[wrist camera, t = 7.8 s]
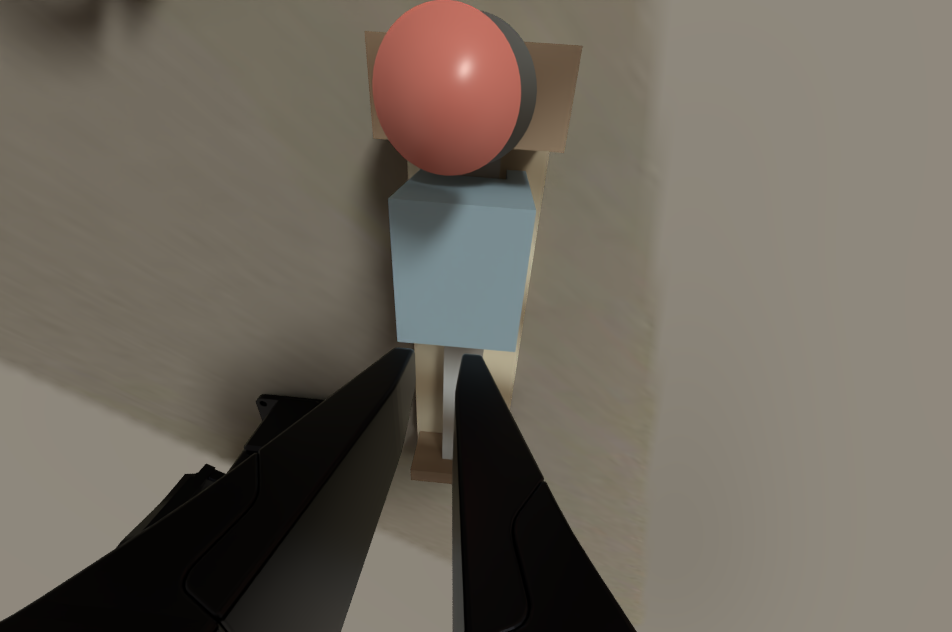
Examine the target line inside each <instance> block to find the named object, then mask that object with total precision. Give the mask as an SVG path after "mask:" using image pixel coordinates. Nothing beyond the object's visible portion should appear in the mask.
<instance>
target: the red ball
mask: <svg viewBox="0 0 952 632" xmlns="http://www.w3.org/2000/svg"><path fill="white" fill-rule="evenodd" d="M372 88H373V99H374V105H375V109H376V113H377V116H378V119H379V122H380V125H381V127H382V129H383V131H384V133H385V135H386V136H387V138H388V139H389V141H390V143H391V144H392V145H393V146H394V148H395V149H396V150H397V151H398V152H399V153H400V154H401V155H402V156H403V157H404V158H405V159H406V160H408V161H409V162H410V163H412V164H413V165H415V166H417V167H418V168H420V169H422V170H425V171H427V172H430V173H434V174H438V175H444V176H455V175H462V174H466V173H470V172H472V171H475V170H477V169H479V168H481V167H482V166H484V165H486V164H487V163H488V162H490V161H491V160H492V159H493V158H495V156H496V155H497V154H498V153H499V152H500V151H501V150H502V149H503V147H504V146H505V144H506V143H507V141H508V140H509V138H510V136H511V134H512V132H513V129H514V127H515V125H516V121H517V118H518V114H519V109H520V103H521V81H520V74H519V69H518V65H517V62H516V58H515V55H514V53H513V51H512V48H511V46H510V44H509V42H508V41H507V39H506V37H505V35H504V34H503V33H502V31H501V30H500V29H499V28H498V26H497V25H496V24H495V23H494V22H493V21H492V20H491V19H490V18H489V17H488V16H486V15H485V14H484V13H482V12H481V11H479V10H478V9H476V8H474V7H472V6H470V5H467V4H464V3H461V2H458V1H452V0H435V1H430V2H425V3H423V4H420V5H418V6H415V7H414V8H412V9H410V10H409V11H407V12H406V13H404V14H403V15H402V16H401V17H400V18H398V19H397V20H396V22H395V23H394V24H393V25H392V26H391V27H390V29H389V30H388V32H387V33H386V35H385V36H384V38H383V40H382V42H381V45H380V47H379V49H378V52H377V55H376V59H375V64H374V68H373V79H372Z"/></svg>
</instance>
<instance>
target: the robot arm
mask: <svg viewBox="0 0 952 632" xmlns="http://www.w3.org/2000/svg"><path fill="white" fill-rule="evenodd" d="M415 385H416V365H415V352H414V350H413V349H409V348H394V349H392V350H391V351H390V352H388V353H387V354H386V355H384V356H383V357H382V358H380V359H379V360H378V361H376V362H375V363H374V364H372V365H371V366H370V367H368V368H367V369H366V370H364V371H363V372H362V373H360V374H359V375H358V376H356V377H355V378H354V379H352V380H351V381H350V382H348V383H347V384H346V385H344V386H343V387H342V388H340V389H339V390H338V391H336V392H335V393H334V394H332V395H331V396H330V397H328V398H327V399H326V400H319V399H309V398H298V397H288V396H277V395H266V394H262V395H260V396H259V398H258V399H257V400H256V404H257V407H258V410H259V412H260V415H261V418H262V423H261V424H260V425H259V427H258V428H257V429H256V431H255V432H254V433H253V435H252V436H251V437H250V439H249V440H248V442H247V443H246V444H245V446H244V450H243V452H242V453H241V454H240V456H239V457H238V459H237V460H236V461H235V463H234V464H233V465H232V467H231V468H230V469H229V471H228V472H227V474H225V473H222V472H220V471H218V470H215V467H213V466H211V465H208V464H205V466H204V467H203V468H202V469H201V470H200V471H199V472H198V473H196V474H185V475H184V476H183V477H182V478H181V480H180V481H179V482H178V483H177V485H176V486H175V487H174V488H173V489H172V490H171V491H170V493H169V494H168V495H167V496H166V497H165V499H163V501H162V502H161V503H160V504H159V505H158V506H157V507H156V508H155V509H154V510H153V511H152V512H151V513H150V514H149V515H148V516H147V517H146V518H145V519H144V520H143V521H142V522H141V523H140V524H139V525H138V526H136V527H135V528H134V529H133V530H132V531H131V532H130V533H129V534H128V535H127V536H126V537H125V538H124V539H123V540H122V541H121V542H120V544H119V545H118V546H117V548H116V549H114V550H113V551H111V552H110V553H108V554H107V555H105V556H104V557H102V558H100V559H99V560H98V561H96V562H94V563H93V564H91V565H90V566H88V567H87V568H85V569H84V570H82V571H80V572H79V573H77V574H76V575H74V576H73V577H71V578H70V579H68V580H67V581H65V582H63V583H62V584H61V585H59V586H57V587H56V588H54V589H53V590H51V591H50V592H48V593H47V594H45V595H44V596H42V597H40V598H39V599H37V600H36V601H34V602H33V603H31V604H29V605H28V606H26V607H24V608H23V609H21V610H19V611H18V612H16V613H15V614H13V615H11V616H9V617H8V618H6V619H4V620H2V621H0V632H341V629H342V627H343V624H344V621H345V618H346V615H347V612H348V609H349V606H350V603H351V600H352V597H353V594H354V591H355V588H356V585H357V582H358V579H359V576H360V573H361V571H362V568H363V565H364V561H365V559H366V556H367V553H368V550H369V547H370V544H371V541H372V538H373V535H374V532H375V529H376V526H377V523H378V520H379V517H380V515H381V512H382V509H383V506H384V503H385V500H386V497H387V494H388V491H389V488H390V485H391V482H392V479H393V476H394V473H395V470H396V467H397V464H398V461H399V458H400V455H401V451H402V447H403V443H404V438H405V434H406V429H407V424H408V419H409V415H410V410H411V405H412V400H413V395H414V391H415ZM452 566H453V632H637V631H636V630H635V628H634V627H633V625H632V624H631V622H630V621H629V619H628V618H627V616H626V615H625V613H624V612H623V610H622V609H621V607H620V605H619V604H618V602H617V601H616V599H615V598H614V596H613V595H612V593H611V592H610V590H609V589H608V587H607V586H606V584H605V583H604V581H603V579H602V578H601V576H600V575H599V573H598V572H597V570H596V569H595V567H594V566H593V564H592V562H591V561H590V559H589V557H588V556H587V554H586V553H585V551H584V549H583V548H582V546H581V545H580V543H579V541H578V540H577V538H576V537H575V535H574V533H573V532H572V530H571V528H570V526H569V524H568V522H567V521H566V519H565V517H564V515H563V513H562V511H561V510H560V508H559V506H558V504H557V502H556V500H555V498H554V496H553V494H552V493H551V491H550V489H549V487H548V485H547V483H546V482H545V481H544V477H543V475H542V473H541V471H540V469H539V467H538V465H537V463H536V461H535V460H534V458H533V456H532V454H531V452H530V450H529V448H528V446H527V444H526V442H525V440H524V438H523V436H522V434H521V432H520V430H519V428H518V426H517V424H516V422H515V420H514V418H513V416H512V414H511V412H510V410H509V408H508V406H507V404H506V402H505V400H504V399H503V397H502V395H501V393H500V391H499V389H498V387H497V385H496V383H495V381H494V379H493V377H492V375H491V373H490V371H489V369H488V367H487V365H486V363H485V361H484V359H483V357H482V356H481V355H476V354H463V355H462V358H461V363H460V368H459V373H458V379H457V384H456V390H455V408H454V433H453V459H452Z"/></svg>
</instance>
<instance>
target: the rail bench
mask: <svg viewBox="0 0 952 632" xmlns="http://www.w3.org/2000/svg"><path fill="white" fill-rule="evenodd" d="M481 12H482V13H484V14H485V15H486V16H488V17H489V18H490V19H491V20H492V21H493V22H494V23H495V24H496V25H497V26H498V28H499V29H500V30H501V31H502V33H503V34H504V35H505V37H506V39H507V41H508V42H509V44H510V46H511V48H512V51H513V53H514V55H515V58H516V62H517V65H518V69H519V74H520V81H521V103H520V109H519V114H518V118H517V121H516V125H515V127H514V129H513V132H512V134H511V136H510V138H509V140H508V141H507V143H506V144H505V146H504V147H503V149H502V150H501V151H500V152H499V153H498V154H497V155H496V156H495V158H493V159H492V160H491V161H490V162H488V163H487V164H486V165H484V166H482V167H481V168H479V169H477V170H475V171H472V172H470V173H466V174H462V175H458V176H471V177H484V178H497V179H506V172H507V170H518V171H526V174H527V178H528V181H529V185H530V189H531V193H532V196H533V200H534V204H535V208H536V216H535V222H534V229H533V236H532V243H531V249H530V256H529V263H528V270H527V276H526V283H525V290H524V297H523V303H522V310H521V317H520V324H519V331H518V337H517V344H516V351H515V352H508V351H496V350H485V349H474V348H463V347H452V346H440V345H429V344H418V343H414V352H415V365H416V407H417V434H418V442H417V446H416V450H415V454H414V458H413V462H412V466H411V480H418V481H428V482H438V483H448V484H452V459H453V433H454V408H455V390H456V384H457V379H458V373H459V368H460V363H461V358H462V355H463V354H476V355H481V356H482V357H483V359H484V361H485V363H486V365H487V367H488V369H489V371H490V373H491V375H492V377H493V379H494V381H495V383H496V385H497V387H498V389H499V391H500V393H501V395H502V397H503V399H504V400H505V402H506V404H507V406H508V408H509V410H510V405H511V398H512V392H513V385H514V379H515V372H516V366H517V359H518V353H519V346H520V340H521V333H522V327H523V320H524V314H525V307H526V301H527V294H528V288H529V281H530V275H531V268H532V262H533V255H534V249H535V242H536V236H537V229H538V223H539V216H540V210H541V203H542V197H543V190H544V184H545V177H546V171H547V164H548V158H549V152H561V153H564V150H565V144H566V139H567V133H568V127H569V121H570V116H571V110H572V104H573V98H574V93H575V87H576V81H577V75H578V70H579V64H580V58H581V52H582V47H583V46H578V45H564V44H549V43H534V42H524V41H523V40H522V38H521V37H520V36H519V34H518V33H517V32H516V31H515V30H514V29H513V28H512V27H511V26H510V25H509V24H508V23H506V22H505V21H504V20H502V19H501V18H499V17H497V16H495V15H493V14H490V13H487V12H484V11H481ZM385 35H386V33H385V32H370V31H365V42H366V54H367V67H368V79H369V91H370V104H371V116H372V128H373V138H374V139H388V138H387V136H386V135H385V133H384V131H383V129H382V127H381V125H380V122H379V119H378V116H377V113H376V109H375V105H374V99H373V88H372V79H373V68H374V64H375V59H376V55H377V52H378V49H379V47H380V45H381V42H382V40H383V38H384V36H385ZM388 140H389V139H388ZM407 165H408V180H409V179H410V178H411V177H412V176H414V175H415V174H416V173H417V172H418V171H419V170H420V168H418V167H417V166H415V165H413V164H412V163H410V162H409V161H408V160H407Z"/></svg>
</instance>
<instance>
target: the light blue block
mask: <svg viewBox="0 0 952 632" xmlns="http://www.w3.org/2000/svg"><path fill="white" fill-rule="evenodd" d="M388 207H389V222H390V237H391V252H392V267H393V282H394V297H395V312H396V327H397V342H407V343H418V344H429V345H440V346H452V347H463V348H474V349H485V350H496V351H508V352H515V351H516V344H517V337H518V331H519V324H520V317H521V310H522V303H523V297H524V290H525V283H526V276H527V270H528V263H529V256H530V249H531V243H532V236H533V229H534V222H535V216H536V208H535V204H534V200H533V196H532V193H531V189H530V185H529V181H528V178H527V174H526V171H518V170H507V172H506V179H497V178H484V177H471V176H458V175H455V176H444V175H438V174H434V173H430V172H427V171H425V170H422V169H420V170H419V171H418V172H417V173H416V174H415V175H414V176H412V177H411V178H410V179H409V180H408V181H407V182H406V183H405V184H404V185H402V186H401V187H400V188H399V189H398V190H397V191H396V192H395V193H394V194H392V195H391V196H390V197H389V198H388Z"/></svg>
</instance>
